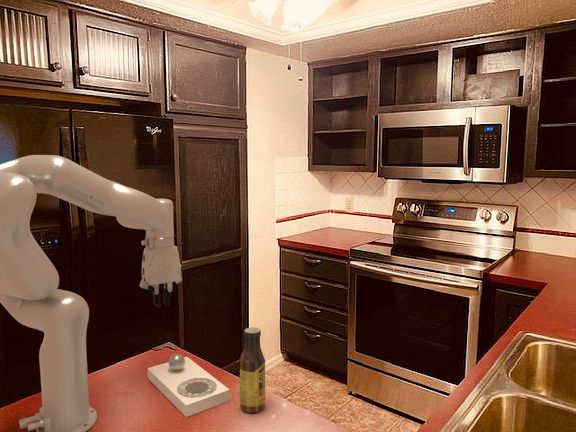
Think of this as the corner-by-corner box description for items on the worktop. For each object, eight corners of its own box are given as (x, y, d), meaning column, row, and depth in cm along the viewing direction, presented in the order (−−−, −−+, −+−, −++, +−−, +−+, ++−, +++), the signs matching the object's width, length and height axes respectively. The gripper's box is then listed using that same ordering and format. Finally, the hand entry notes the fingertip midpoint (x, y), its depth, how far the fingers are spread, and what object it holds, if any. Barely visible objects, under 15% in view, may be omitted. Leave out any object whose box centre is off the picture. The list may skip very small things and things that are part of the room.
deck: (186, 417, 108) (186, 405, 108) (147, 378, 127) (147, 368, 126) (229, 400, 116) (229, 389, 115) (187, 366, 134) (187, 356, 134)
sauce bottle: (264, 414, 110) (264, 336, 107) (238, 414, 110) (237, 335, 107) (266, 400, 116) (266, 325, 113) (241, 399, 116) (241, 325, 114)
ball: (172, 375, 122) (172, 359, 122) (165, 369, 126) (165, 353, 125) (187, 370, 125) (187, 355, 125) (180, 364, 129) (180, 349, 128)
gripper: (137, 248, 120) (139, 315, 123) (192, 241, 130) (193, 303, 132) (127, 243, 126) (129, 307, 128) (180, 237, 136) (181, 297, 138)
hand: (162, 305), depth 130 cm, fingers closed
